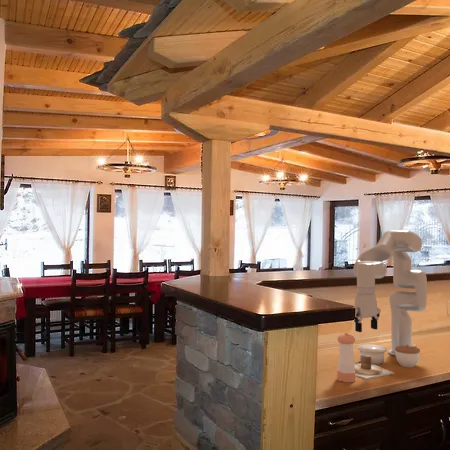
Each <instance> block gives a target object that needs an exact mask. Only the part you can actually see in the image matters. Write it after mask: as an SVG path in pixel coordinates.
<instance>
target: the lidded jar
mask: <svg viewBox="0 0 450 450" xmlns="http://www.w3.org/2000/svg"><path fill="white" fill-rule="evenodd" d="M395 354H396V356H395V359H396V361H397V363H398V364H399V365H400V366H401V367H405V368H414V367H416V365H417V364H418V363H419V360H420V356H421V355H420V354H421V349H420V348H418V347H417V348H416V347H410V346H409V345H406V346H397V347H395Z"/></svg>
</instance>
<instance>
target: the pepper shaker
mask: <svg viewBox="0 0 450 450" xmlns="http://www.w3.org/2000/svg"><path fill="white" fill-rule="evenodd" d="M337 342H338V343H339V345H338V347H339V348H338V350H339V351H338V352H339V354H338V360H337V371H336V372H337V373H336V380H337V381H339V382H342V381H343V383H354V382H355V381H356V376H355V371H354V368H355V364H356V363H355V357H354V343H355V342H356V338H355V337H354V335H352V334H349V333H348V332H344V333H342V334H339V335H338V336H337Z"/></svg>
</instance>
